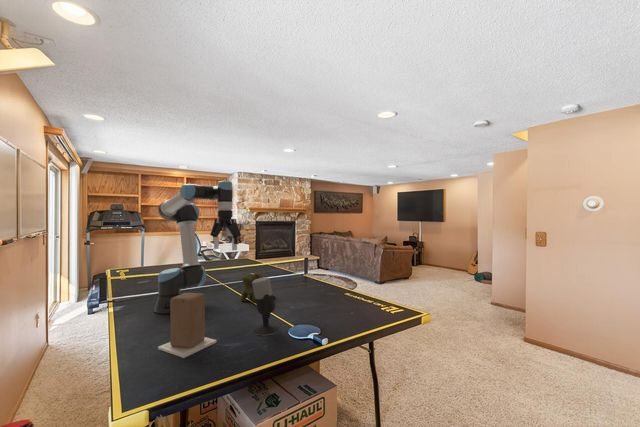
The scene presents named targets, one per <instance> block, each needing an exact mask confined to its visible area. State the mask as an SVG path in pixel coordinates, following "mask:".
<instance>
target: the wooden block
mask: <svg viewBox="0 0 640 427" xmlns="http://www.w3.org/2000/svg"><path fill="white" fill-rule="evenodd" d="M205 298H206V296H205V294H204V293H199V292H197V293H196V292H184V293H180V295H178V296H176V297H173V298H171V305H170V313H169V314H170V316H169V317H170V330H169V331H170V337H169V338H170V339H169V340H170V341H169V342H170V344H171V346H175V347H184V348H192V347H193V346H195V345H196V344H198V343H199V342H201V341H202V340H204V338H205V337H206V334H205V333H206V332H205V331H206V328H205V327H206V326H205V322H206V320H205V318H206V317H205V316H206V310H205V309H206V308H205V307H206V306H205V305H206V304H205V303H206V300H205Z"/></svg>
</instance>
